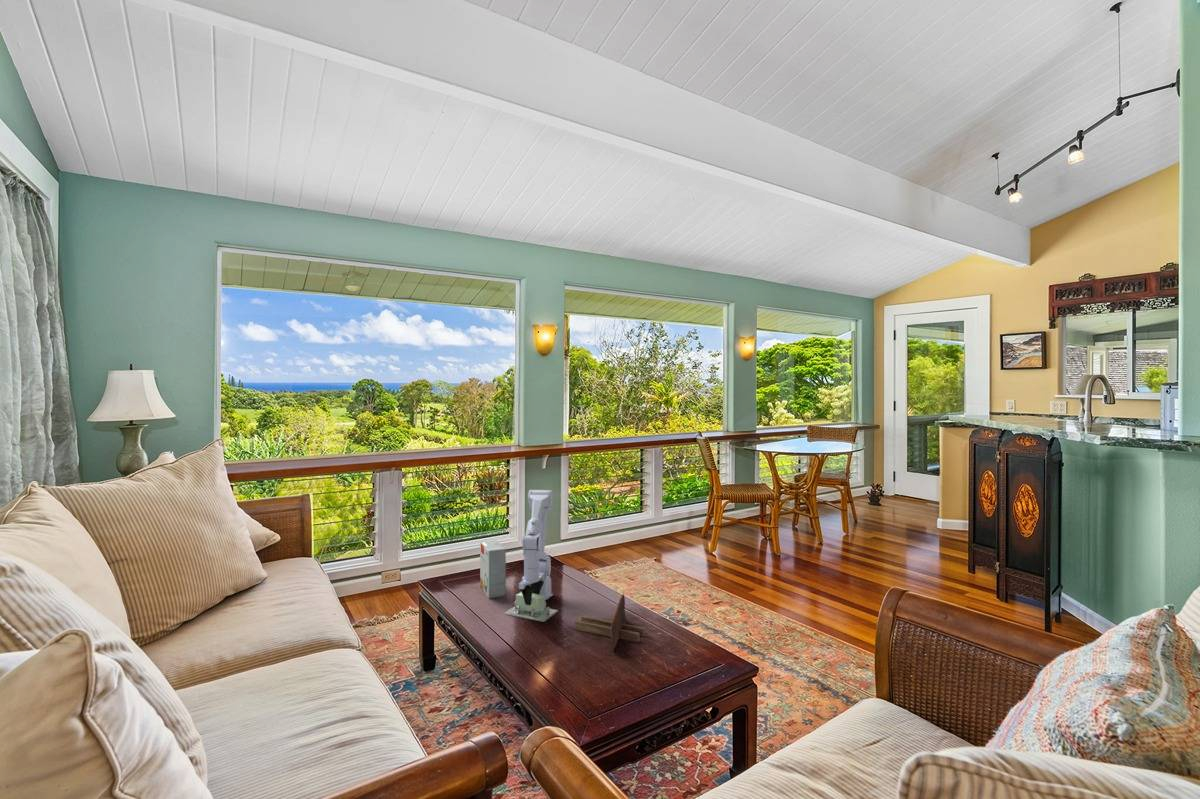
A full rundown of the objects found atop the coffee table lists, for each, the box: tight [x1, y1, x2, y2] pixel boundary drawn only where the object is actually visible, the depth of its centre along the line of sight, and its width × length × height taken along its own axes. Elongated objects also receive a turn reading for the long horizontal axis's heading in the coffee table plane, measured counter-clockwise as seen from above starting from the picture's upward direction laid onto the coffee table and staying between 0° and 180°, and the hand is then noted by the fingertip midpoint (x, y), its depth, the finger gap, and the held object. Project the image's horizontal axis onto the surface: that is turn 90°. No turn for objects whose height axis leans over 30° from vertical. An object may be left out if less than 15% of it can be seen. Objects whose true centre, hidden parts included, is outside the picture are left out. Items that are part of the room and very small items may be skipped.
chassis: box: [505, 600, 559, 623], centre depth 209 cm, size 17×10×4 cm, turn 64°
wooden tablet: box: [610, 593, 627, 651], centre depth 190 cm, size 26×2×10 cm, turn 169°
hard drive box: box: [479, 539, 507, 599], centre depth 233 cm, size 16×8×20 cm, turn 25°
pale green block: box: [515, 591, 546, 612], centre depth 210 cm, size 10×4×5 cm, turn 64°
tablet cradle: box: [574, 615, 645, 643], centre depth 192 cm, size 6×24×3 cm, turn 64°
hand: (531, 602), depth 209 cm, fingers closed on pale green block, 4 cm apart
